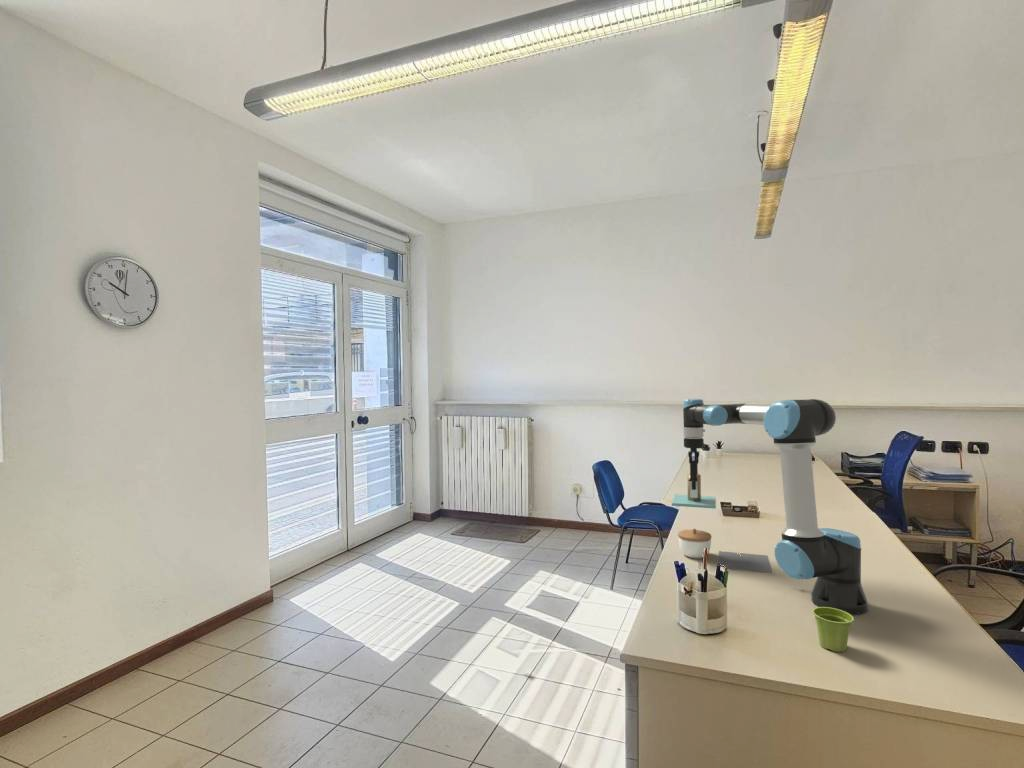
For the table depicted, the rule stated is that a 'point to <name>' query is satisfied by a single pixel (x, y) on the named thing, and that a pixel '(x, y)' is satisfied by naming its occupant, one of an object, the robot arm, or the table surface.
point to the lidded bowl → (694, 542)
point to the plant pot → (833, 627)
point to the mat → (745, 561)
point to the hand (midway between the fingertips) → (694, 495)
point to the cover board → (694, 503)
